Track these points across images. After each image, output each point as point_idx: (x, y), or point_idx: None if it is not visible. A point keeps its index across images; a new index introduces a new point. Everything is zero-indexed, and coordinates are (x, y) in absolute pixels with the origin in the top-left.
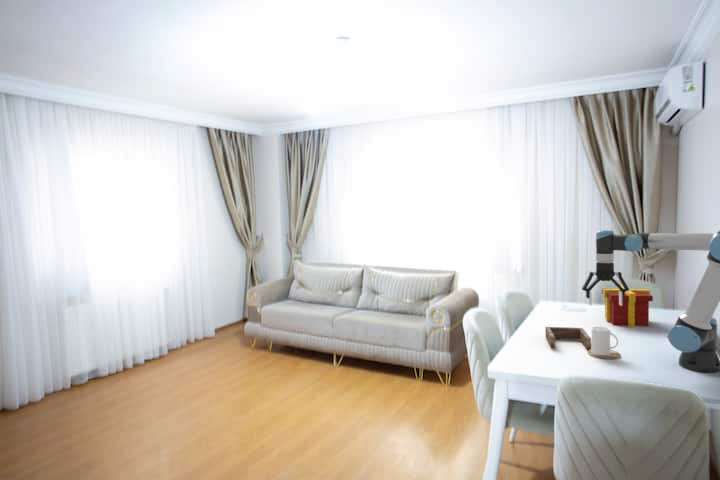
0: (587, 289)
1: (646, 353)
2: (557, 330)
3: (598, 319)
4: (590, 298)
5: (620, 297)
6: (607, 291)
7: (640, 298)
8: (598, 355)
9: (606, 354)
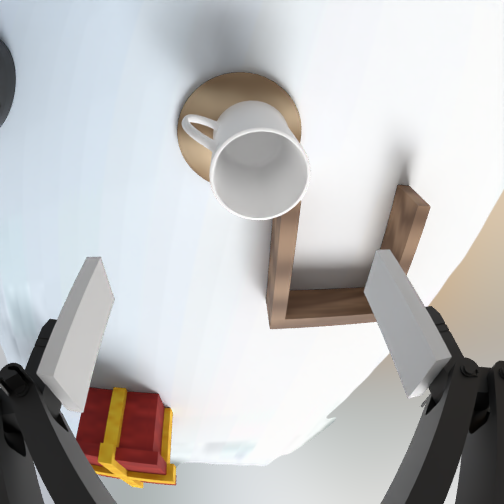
0: (473, 387)
1: (84, 177)
2: (354, 308)
3: (187, 417)
4: (413, 297)
5: (75, 325)
6: (165, 477)
7: (89, 448)
8: (271, 95)
9: (237, 103)
